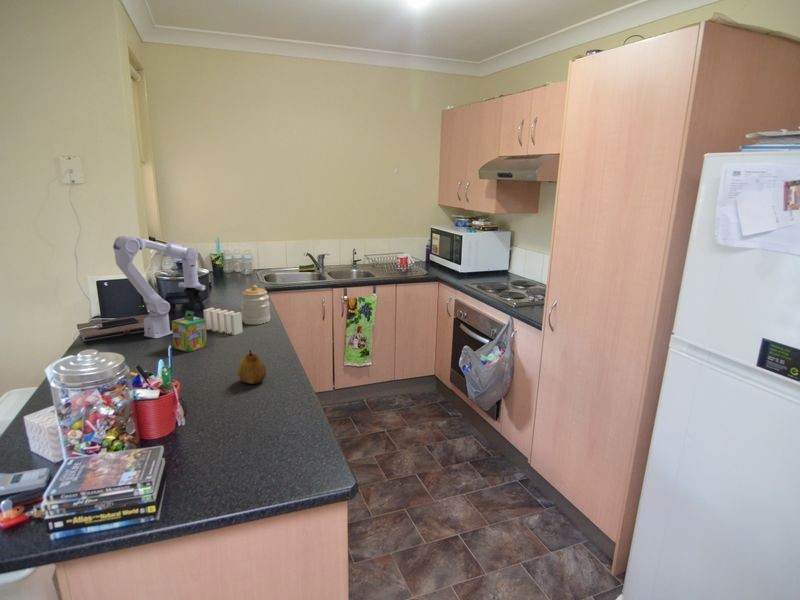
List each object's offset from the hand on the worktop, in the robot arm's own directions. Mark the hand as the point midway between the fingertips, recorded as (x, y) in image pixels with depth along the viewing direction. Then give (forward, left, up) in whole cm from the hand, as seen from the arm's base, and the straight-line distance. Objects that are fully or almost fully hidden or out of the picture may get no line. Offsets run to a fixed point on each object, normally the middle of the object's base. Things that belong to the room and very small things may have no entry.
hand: (193, 304), depth 211 cm
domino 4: (+1, -20, -11) cm, 23 cm away
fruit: (-35, -66, -11) cm, 76 cm away
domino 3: (+1, -16, -11) cm, 19 cm away
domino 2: (+1, -12, -11) cm, 16 cm away
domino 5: (+1, -24, -11) cm, 26 cm away
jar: (+19, -19, -11) cm, 29 cm away
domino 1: (+1, -8, -11) cm, 13 cm away
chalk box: (-21, -21, -11) cm, 32 cm away
